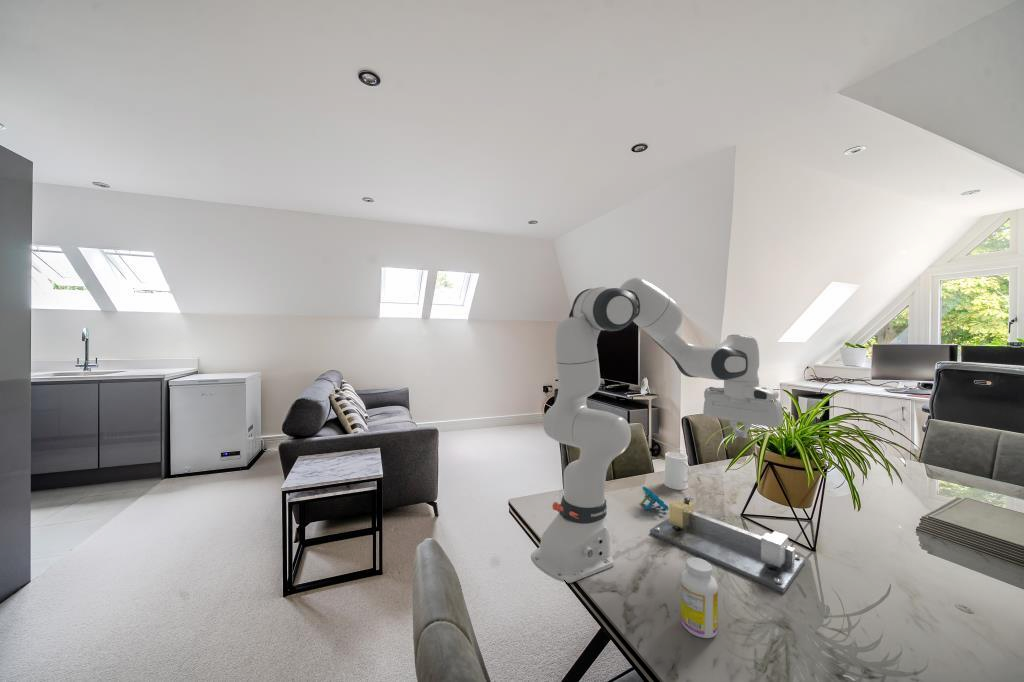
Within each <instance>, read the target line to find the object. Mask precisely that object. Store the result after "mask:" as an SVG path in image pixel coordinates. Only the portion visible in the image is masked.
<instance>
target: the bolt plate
mask: <svg viewBox="0 0 1024 682" xmlns="http://www.w3.org/2000/svg"><path fill="white" fill-rule="evenodd" d="M649 534H650V535H652V536H654V537H656V538H659V539H662V540H663V541H665V542H668V543H670V544H672V545H675V546H677V547H679V548H682V549H683V550H686V551H688V552H690V553H692V554H695V555H697V556H699V557H702V559H706V560H709V561H710V562H712V563H715V564H717V565H719V566H722V567H724V568H726V569H728V570H730V571H733V572H734V573H737V574H739V575H742V576H744V577H745V578H749V579H751V580H753V581H754V582H758V583H760V584H761V585H764V586H766V587H768V588H770V589H773V590H775V591H777V592H779V593H782V594H785V592H786V590H787V589H788V588H789V586H790V585H791V584H792V583H793V581H794V579H795V578H796V577H797V575H798V573H799V572H800V570H801V569H802V568H803V566H804V565H805V561H806V560H805V558H804V557H802V556H800V555H799V554H797V553H795V563H794V565H793V567H791V566H788V565H786V564H782V566H781V567H778V566H775V569H773V568H771V567H770V563H768V562H765V561H763V560H761V555H760V554H758V553H755V552H753V551H750V550H748V549H745V548H743V547H740V546H738V545H735V544H733V543H730V542H728V541H725V540H723V539H720V538H718V537H715V536H713V535H710V534H708V533H705V532H702V531H700V530H697V529H695V528H692V527H690V526H687V525H686V526H685V527H683V528H681V529H678V528H677V525H674V524H672V523H669V517H667V518H666V519H665V520H663V521H662V522H660V523H658V524H657V525H655V526H653V527H652V528H650V529H649Z"/></svg>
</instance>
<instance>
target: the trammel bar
mask: <svg viewBox="0 0 1024 682" xmlns="http://www.w3.org/2000/svg"><path fill="white" fill-rule="evenodd" d="M687 526H690V527H692V528H695V529H697V530H700V531H702V532H705V533H708V534H710V535H713V536H715V537H718V538H720V539H723V540H725V541H728V542H730V543H733V544H735V545H738V546H740V547H743V548H745V549H748V550H750V551H753V552H755V553H758V554H760V555H761V560H763V561H765V562H768V563H770V567H771V568H773V569H775V566H778V567H781V566H782V564H786V565H788V566H791V567H793V565H794V563H795V554H796V551H795V549H796V548H795V547H792V546H789V545H788V544H789V535H787V534H784V533H781V532H779V531H776V530H773V532H772V533H769V532H765V533H764V534H763V535H759V534H757V533H754V532H752V531H748V530H747V529H743V528H740V527H737V526H735V525H731V524H729V523H727V522H724V521H721V520H718V519H715V518H713V517H710V516H707V515H705V514H701V513H699V512H696V511H694V510H693V511H691V512H690V513H689V524H687Z"/></svg>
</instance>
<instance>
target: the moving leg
mask: <svg viewBox="0 0 1024 682" xmlns="http://www.w3.org/2000/svg"><path fill="white" fill-rule="evenodd" d="M668 505H669V506H668V508H669V509H668V511H669V512H668V518H669V523H672V524H674V525H677V528H678V529H681V528H683V527H685V526H686V525H687V524H689V513H690V512H691V511H693V512H694V510H695V503H694V502H693V501H691V499H690V498H688V497H684V499H683V500H682V501H678V500H674V501H673V502H671V503H669V504H668Z"/></svg>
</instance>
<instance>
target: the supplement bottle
mask: <svg viewBox="0 0 1024 682" xmlns="http://www.w3.org/2000/svg"><path fill="white" fill-rule="evenodd" d="M685 564H686V565H685V568H686V569H685V570H683V572H682V573H681V575H680V621H681V624H682V626H683V627H684V629H685V630H687V632H689V633H690V634H692V635H693V636H695V637H698V638H700V639H701V638H703V639H711V638H714V637H716V635H717V634H718V629H719V628H718V627H719V625H718V624H719V623H718V616H719V615H718V614H719V613H718V612H719V611H718V608H719V607H718V605H719V604H718V602H719V601H718V600H719V599H718V598H719V597H718V596H719V593H718V591H719V589H718V588H719V586H718V582H717V580H716V579H715V577H714V576H712V575H713V567H712V565H711V563H710V562H709V561H707V560H705V559H704V558H700V557H693V556H692V557H688V558H687V559H686V561H685Z"/></svg>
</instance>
